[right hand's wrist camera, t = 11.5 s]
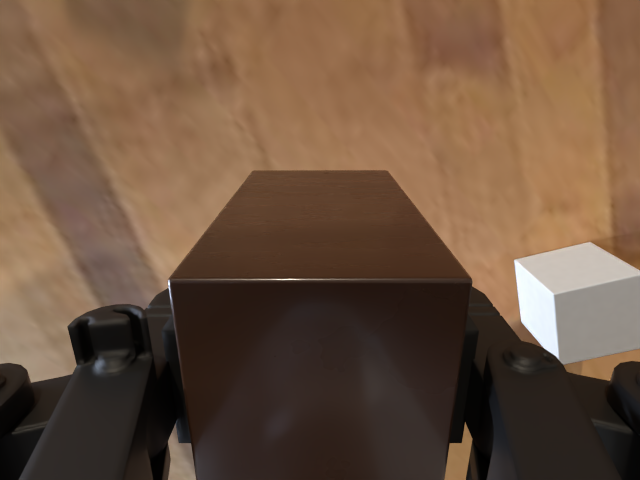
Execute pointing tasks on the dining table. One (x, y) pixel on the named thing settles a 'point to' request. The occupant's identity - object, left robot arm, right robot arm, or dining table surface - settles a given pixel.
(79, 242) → the dining table surface
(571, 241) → the dining table surface
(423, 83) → the dining table surface
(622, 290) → the grey cube
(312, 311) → the walnut beam
